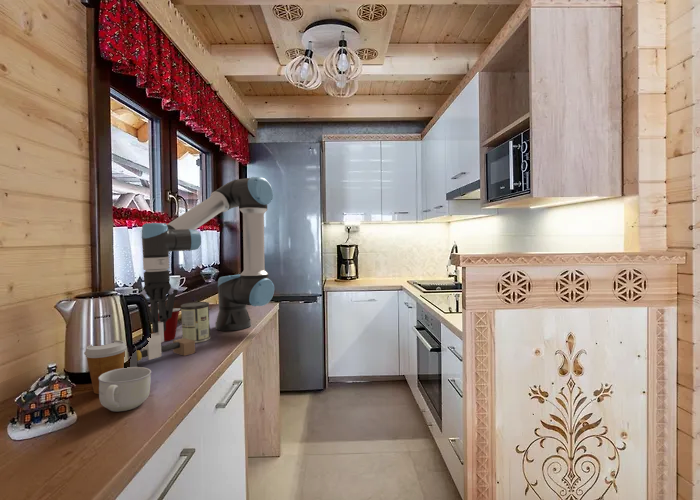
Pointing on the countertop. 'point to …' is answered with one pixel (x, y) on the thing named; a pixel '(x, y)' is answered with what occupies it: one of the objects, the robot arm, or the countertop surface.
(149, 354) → the white upright block
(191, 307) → the coffee can
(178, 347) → the cord rail
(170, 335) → the plastic cup
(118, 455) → the countertop surface
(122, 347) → the disposable coffee cup
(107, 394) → the teacup
